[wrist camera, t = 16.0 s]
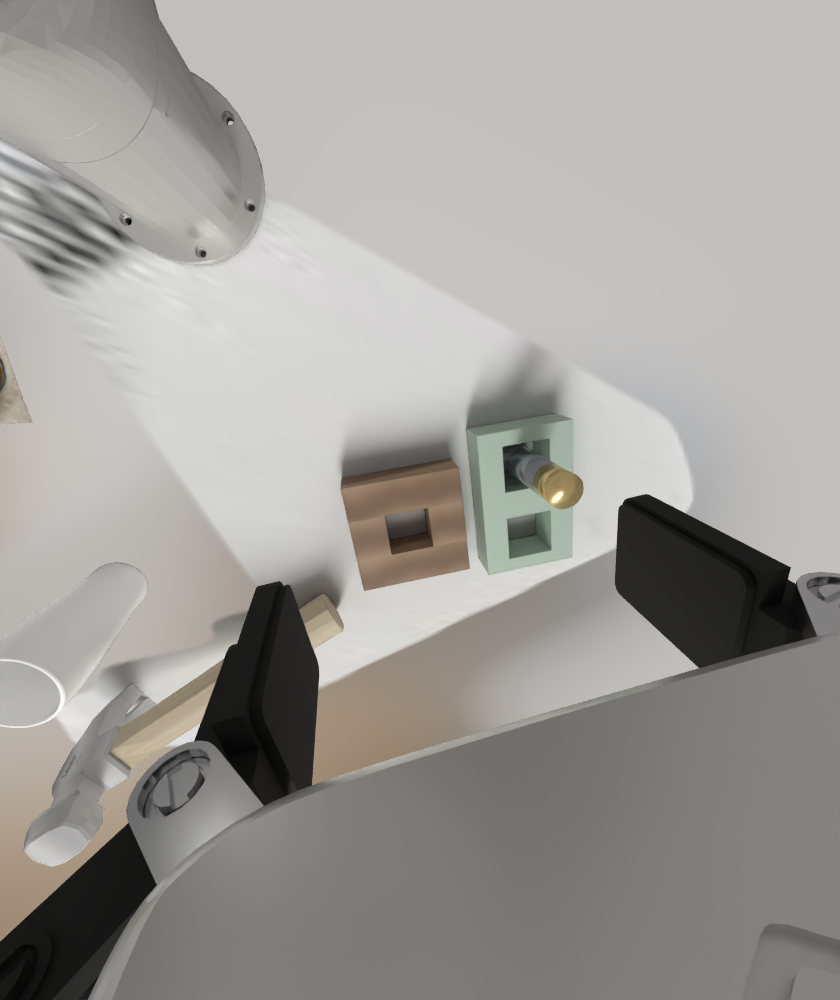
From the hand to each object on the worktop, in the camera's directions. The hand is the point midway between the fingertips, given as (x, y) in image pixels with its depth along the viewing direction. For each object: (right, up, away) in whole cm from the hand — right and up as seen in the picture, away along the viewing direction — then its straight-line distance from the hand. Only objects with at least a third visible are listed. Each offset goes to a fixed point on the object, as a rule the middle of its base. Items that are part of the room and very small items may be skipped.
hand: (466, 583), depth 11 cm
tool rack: (+10, +3, +35) cm, 36 cm away
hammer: (-24, -16, +37) cm, 47 cm away
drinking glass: (-33, -6, +32) cm, 46 cm away
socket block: (-3, 0, +34) cm, 34 cm away
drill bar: (+9, +7, +33) cm, 35 cm away
